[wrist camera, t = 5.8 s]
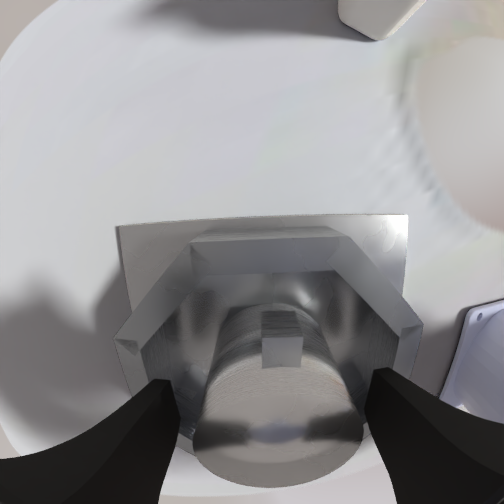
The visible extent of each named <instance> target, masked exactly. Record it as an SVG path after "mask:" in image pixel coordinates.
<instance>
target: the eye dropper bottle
mask: <svg viewBox="0 0 504 504" xmlns="http://www.w3.org/2000/svg"><path fill="white" fill-rule="evenodd" d="M426 1H427V0H338V14H339V18H340V19H341V21H342V22H343V23H345V24H346V25H348V26H350V27H351V28H353V29H355V30H357V31H359V32H361V33H362V34H364V35H366V36H368V37H370V38H371V39H374V40H377V41H378V40H384V39H386V38H388V37H390V36H391V35H392V34H394V33H395V32H396V31H397V30H398V29H399V28H400V27H401V26H402V25H403V24H404V23H405V22H406V21H407V20H408V19H409V18H410V17H411V16H412V15H413V14H414V13H415V12H416V11H417V10H418V9H419V8H420V7H421V6H422V5H423V4H424V3H425V2H426Z"/></svg>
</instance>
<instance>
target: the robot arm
mask: <svg viewBox="0 0 504 504" xmlns="http://www.w3.org/2000/svg"><path fill="white" fill-rule="evenodd" d="M462 405H464V406H465V407H466V409H467V410H468V411H469V412H470V413H471V414H470V413H467V412H465V411H462V410H460V409H458V407H460V406H462ZM364 412H365V416H366V420H367V423H368V426H369V430H370V432H371V435H372V437H373V439H374V442H375V444H376V446H377V448H378V451H379V453H380V455H381V457H382V460H383V462H384V464H385V466H386V469H387V471H388V473H389V476H390V479H391V482H392V485H393V489H394V493H395V497H396V501H397V504H504V300H501V301H498V302H494V303H490V304H486V305H483V306H479V307H475V308H472V309H470V310H469V311H468V313H467V315H466V318H465V322H464V326H463V330H462V333H461V337H460V341H459V344H458V347H457V351H456V354H455V357H454V360H453V363H452V366H451V369H450V372H449V374H448V377H447V380H446V382H445V385H444V387H443V390H442V392H441V395H440V397H439V399H438V398H437V397H435V396H433V395H432V394H430V393H428V392H427V391H425V390H423V389H422V388H420V387H419V386H417V385H416V384H414V383H413V382H411V381H409V380H408V379H406V378H405V377H403V376H402V375H400V374H399V373H397V372H396V371H394V370H393V369H391V368H389V367H385V368H380V369H374V370H373V374H372V378H371V382H370V386H369V391H368V395H367V398H366V402H365V406H364ZM180 421H181V417H180V413H179V410H178V407H177V403H176V400H175V396H174V392H173V389H172V385H171V381H170V380H166V379H153V380H152V381H151V382H150V383H148V384H147V385H146V386H145V387H144V388H143V389H142V390H140V391H139V392H138V393H137V394H136V395H135V396H133V397H132V398H131V399H130V400H129V401H127V402H126V403H125V404H124V405H123V406H121V407H120V408H119V409H118V410H116V411H115V412H114V413H112V414H111V415H110V416H108V417H107V418H105V419H104V420H103V421H101V422H100V423H98V424H97V425H95V426H94V427H92V428H91V429H89V430H87V431H86V432H84V433H82V434H80V435H78V436H77V437H75V438H73V439H71V440H69V441H66V442H64V443H62V444H59V445H57V446H54V447H52V448H49V449H47V450H44V451H40V452H37V453H33V454H29V455H25V456H20V457H15V458H7V459H0V504H158V501H159V495H160V491H161V488H162V484H163V481H164V478H165V475H166V472H167V469H168V466H169V463H170V460H171V457H172V454H173V451H174V448H175V445H176V442H177V438H178V433H179V427H180Z"/></svg>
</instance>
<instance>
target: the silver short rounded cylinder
mask: <svg viewBox="0 0 504 504" xmlns="http://www.w3.org/2000/svg"><path fill="white" fill-rule="evenodd" d="M363 435H364V427H363V423H362V420H361V418H360V415H359V413H358V411H357V408H356V406H355V404H354V402H353V399H352V397H351V395H350V392H349V390H348V388H347V386H346V383H345V381H344V379H343V377H342V374H341V372H340V370H339V368H338V365H337V363H336V361H335V359H334V357H333V354H332V352H331V350H330V348H329V346H328V344H327V341H326V339H325V337H324V335H323V333H322V331H321V329H320V327H319V325H318V324H317V322H316V321H315V320H314V319H313V318H312V317H311V316H310V315H308V314H307V313H306V312H304V311H302V310H301V309H298V308H296V307H293V306H290V305H286V304H280V303H266V304H260V305H255V306H252V307H249V308H247V309H244V310H242V311H240V312H239V313H237V314H236V315H234V316H233V317H232V318H231V319H229V321H228V322H227V323H226V324H225V325H224V326H223V328H222V329H221V331H220V333H219V335H218V338H217V341H216V345H215V349H214V353H213V357H212V361H211V365H210V369H209V373H208V377H207V382H206V386H205V390H204V394H203V398H202V402H201V406H200V410H199V415H198V419H197V423H196V427H195V431H194V436H193V443H192V445H193V450H194V453H195V455H196V457H197V459H198V460H199V462H200V463H201V464H202V465H203V466H204V467H205V468H207V469H208V470H209V471H210V472H212V473H213V474H215V475H217V476H219V477H221V478H223V479H225V480H228V481H230V482H234V483H237V484H241V485H246V486H252V487H263V488H276V487H287V486H294V485H298V484H303V483H306V482H310V481H313V480H316V479H318V478H321V477H323V476H325V475H327V474H329V473H331V472H333V471H335V470H336V469H338V468H339V467H341V466H342V465H343V464H344V463H346V462H347V461H348V460H349V459H350V458H351V457H352V456H353V455H354V454H355V452H356V451H357V450H358V448H359V446H360V444H361V442H362V439H363Z"/></svg>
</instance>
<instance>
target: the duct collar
mask: <svg viewBox="0 0 504 504" xmlns="http://www.w3.org/2000/svg"><path fill="white" fill-rule="evenodd" d="M407 232H408V215H404V214H330V215H287V216H259V217H237V218H218V219H200V220H185V221H170V222H157V223H144V224H132V225H122V226H119V233H120V242H121V250H122V258H123V265H124V272H125V278H126V284H127V290H128V295H129V301H130V306H131V311H132V314H131V315H130V316H129V318H128V319H127V320H126V322H125V323H124V324H123V326H122V327H121V328H120V330H119V331H118V332H117V334H116V335H115V336H114V338H113V339H114V343H115V346H116V350H117V353H118V356H119V360H120V363H121V366H122V369H123V372H124V375H125V378H126V381H127V384H128V387H129V390H130V392H131V395H132V397H133V396H135V395H136V394H137V393H138V392H139V391H140V390H142V389H143V388H144V387H145V386H146V385H147V384H148V383H150V382H151V381H152V380H153V379H166V380H170V381H171V385H172V389H173V392H174V396H175V400H176V403H177V407H178V410H179V413H180V417H181V421H180V427H179V433H178V438H177V442H176V446H178V447H179V448H181V449H183V450H185V451H187V452H188V453H190V454H192V455H194V456H196V455H195V453H194V450H193V445H192V443H193V436H194V431H195V427H196V423H197V419H198V415H199V410H200V406H201V402H202V398H203V394H204V390H205V386H206V382H207V377H208V373H209V369H210V365H211V361H212V357H213V353H214V349H215V345H216V341H217V338H218V335H219V333H220V331H221V329H222V328H223V326H224V325H225V324H226V323H227V322H228V321H229V319H231V318H232V317H233V316H234V315H236V314H237V313H239V312H240V311H242V310H244V309H247V308H249V307H252V306H255V305H260V304H266V303H280V304H286V305H290V306H293V307H296V308H298V309H301V310H302V311H304V312H306V313H307V314H308V315H310V316H311V317H312V318H313V319H314V320H315V321H316V322H317V324H318V325H319V327H320V329H321V331H322V333H323V335H324V337H325V339H326V341H327V344H328V346H329V348H330V350H331V352H332V354H333V357H334V359H335V361H336V363H337V365H338V368H339V370H340V372H341V374H342V377H343V379H344V381H345V383H346V386H347V388H348V390H349V392H350V395H351V397H352V399H353V402H354V404H355V406H356V408H357V411H358V413H359V415H360V418H361V420H362V423H363V427H364V435H363V439H364V438H365V437H367V436H368V435H370V434H371V432H370V430H369V426H368V423H367V420H366V416H365V412H364V406H365V402H366V398H367V395H368V391H369V386H370V382H371V378H372V374H373V370H374V369H380V368H385V367H389V368H391V369H393V370H394V371H396V372H397V373H399V374H400V375H402V376H403V377H405V378H406V379H408V380H409V379H410V376H411V372H412V369H413V365H414V362H415V358H416V354H417V351H418V347H419V343H420V338H421V334H422V329H423V325H424V324H423V322H422V321H421V320H420V318H419V317H418V316H417V315H416V313H415V312H414V311H413V309H412V308H411V307H410V306H409V304H408V303H407V302H406V301H405V300H404V298H403V297H402V292H403V284H404V275H405V264H406V251H407Z"/></svg>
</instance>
